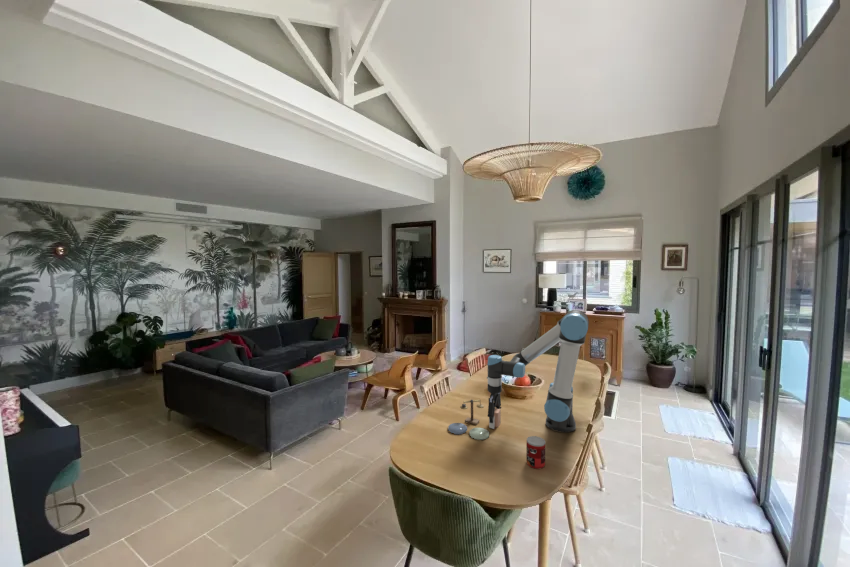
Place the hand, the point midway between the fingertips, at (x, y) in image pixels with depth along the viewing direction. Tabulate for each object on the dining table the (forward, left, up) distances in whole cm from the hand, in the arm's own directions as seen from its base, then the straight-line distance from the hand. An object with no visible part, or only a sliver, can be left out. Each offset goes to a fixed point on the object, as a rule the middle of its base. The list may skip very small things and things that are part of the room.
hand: (494, 423), depth 192 cm
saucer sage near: (+4, +14, 0) cm, 15 cm away
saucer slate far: (+16, +14, 0) cm, 21 cm away
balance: (+12, +3, 0) cm, 12 cm away
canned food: (-27, +27, 0) cm, 38 cm away
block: (0, 0, 0) cm, 0 cm away
